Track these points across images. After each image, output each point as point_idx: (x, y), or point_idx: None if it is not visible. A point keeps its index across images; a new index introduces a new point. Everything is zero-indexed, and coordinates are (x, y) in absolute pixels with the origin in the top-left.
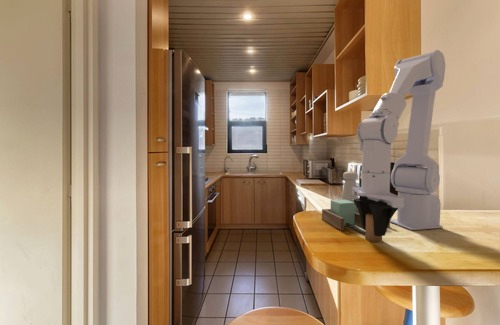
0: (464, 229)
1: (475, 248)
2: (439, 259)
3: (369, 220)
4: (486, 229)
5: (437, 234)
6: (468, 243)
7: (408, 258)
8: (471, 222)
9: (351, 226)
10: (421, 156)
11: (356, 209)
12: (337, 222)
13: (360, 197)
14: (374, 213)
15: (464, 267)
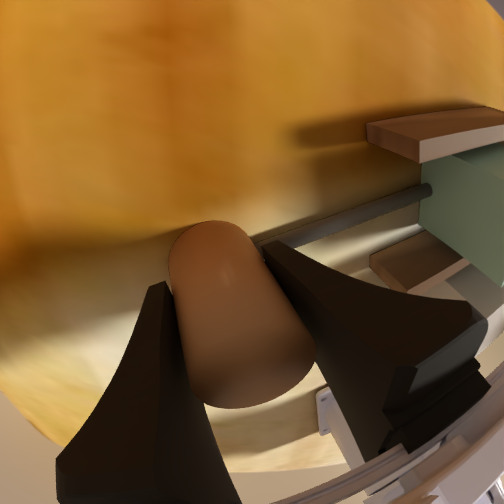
0: (306, 450)
1: None
2: (54, 397)
3: (207, 318)
4: (300, 464)
5: (278, 426)
6: None
7: (12, 330)
8: None
9: (390, 198)
10: None
11: (481, 273)
12: (421, 125)
13: (468, 383)
14: (121, 410)
15: (29, 415)
